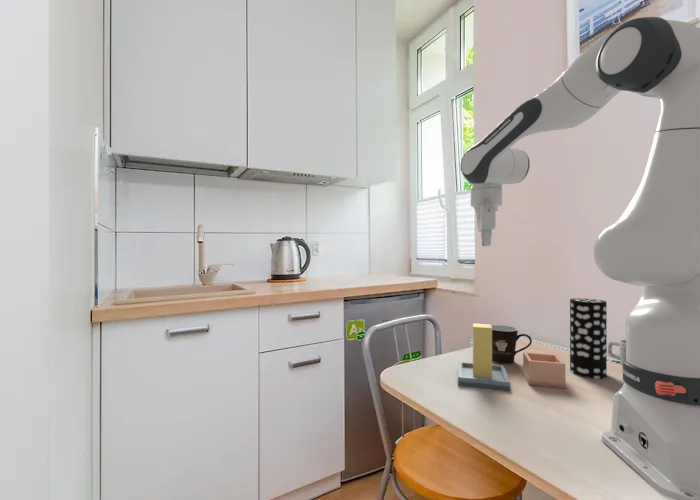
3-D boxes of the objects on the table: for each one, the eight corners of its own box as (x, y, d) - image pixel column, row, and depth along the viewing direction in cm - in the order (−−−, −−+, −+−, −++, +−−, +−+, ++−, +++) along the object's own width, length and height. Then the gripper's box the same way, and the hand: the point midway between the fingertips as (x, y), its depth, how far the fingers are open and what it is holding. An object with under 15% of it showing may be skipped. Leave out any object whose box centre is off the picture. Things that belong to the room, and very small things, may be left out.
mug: (652, 366, 102) (652, 343, 102) (643, 370, 99) (643, 346, 99) (612, 357, 111) (612, 336, 111) (602, 360, 107) (602, 339, 107)
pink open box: (565, 388, 86) (565, 364, 86) (528, 384, 88) (528, 360, 88) (556, 377, 93) (556, 354, 93) (523, 373, 96) (523, 351, 96)
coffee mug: (481, 359, 108) (481, 327, 108) (496, 354, 114) (496, 323, 114) (518, 370, 99) (518, 334, 99) (533, 363, 104) (533, 330, 104)
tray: (510, 390, 84) (510, 382, 84) (458, 385, 88) (458, 377, 88) (503, 372, 97) (503, 365, 97) (458, 368, 101) (458, 361, 101)
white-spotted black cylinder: (594, 368, 100) (594, 298, 100) (613, 379, 92) (613, 303, 92) (564, 367, 101) (564, 298, 101) (580, 378, 93) (580, 302, 93)
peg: (492, 378, 90) (492, 328, 90) (473, 376, 91) (473, 326, 91) (490, 372, 94) (490, 324, 94) (472, 371, 95) (472, 323, 95)
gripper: (501, 194, 94) (501, 245, 94) (494, 203, 114) (494, 246, 114) (476, 195, 96) (476, 245, 96) (473, 204, 116) (473, 246, 116)
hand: (486, 246), depth 105 cm, fingers open, 8 cm apart
